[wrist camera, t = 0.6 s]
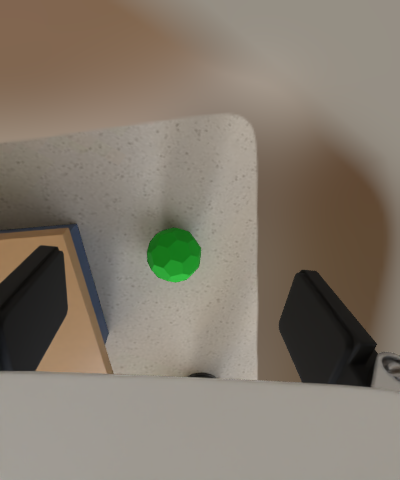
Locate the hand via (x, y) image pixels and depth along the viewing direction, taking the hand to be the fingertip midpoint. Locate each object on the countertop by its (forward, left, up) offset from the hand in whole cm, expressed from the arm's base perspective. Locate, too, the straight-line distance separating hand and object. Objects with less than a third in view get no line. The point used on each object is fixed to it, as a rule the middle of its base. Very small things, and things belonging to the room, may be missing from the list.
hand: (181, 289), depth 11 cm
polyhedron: (+6, -1, -16) cm, 17 cm away
